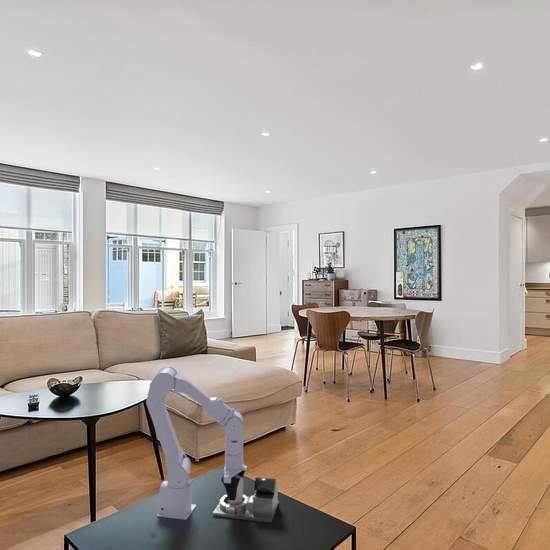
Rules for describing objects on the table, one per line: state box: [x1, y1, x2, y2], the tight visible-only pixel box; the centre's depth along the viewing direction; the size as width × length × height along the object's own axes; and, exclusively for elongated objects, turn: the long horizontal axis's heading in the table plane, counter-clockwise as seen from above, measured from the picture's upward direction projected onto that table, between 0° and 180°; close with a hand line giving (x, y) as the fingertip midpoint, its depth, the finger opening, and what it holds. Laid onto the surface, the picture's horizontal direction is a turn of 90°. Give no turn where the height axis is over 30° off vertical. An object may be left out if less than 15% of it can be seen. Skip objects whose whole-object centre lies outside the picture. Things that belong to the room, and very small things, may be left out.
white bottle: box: [228, 475, 244, 506], centre depth 132 cm, size 4×4×8 cm
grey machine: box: [212, 476, 280, 523], centre depth 132 cm, size 18×11×10 cm, turn 79°
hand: (234, 495), depth 133 cm, fingers closed on white bottle, 4 cm apart
